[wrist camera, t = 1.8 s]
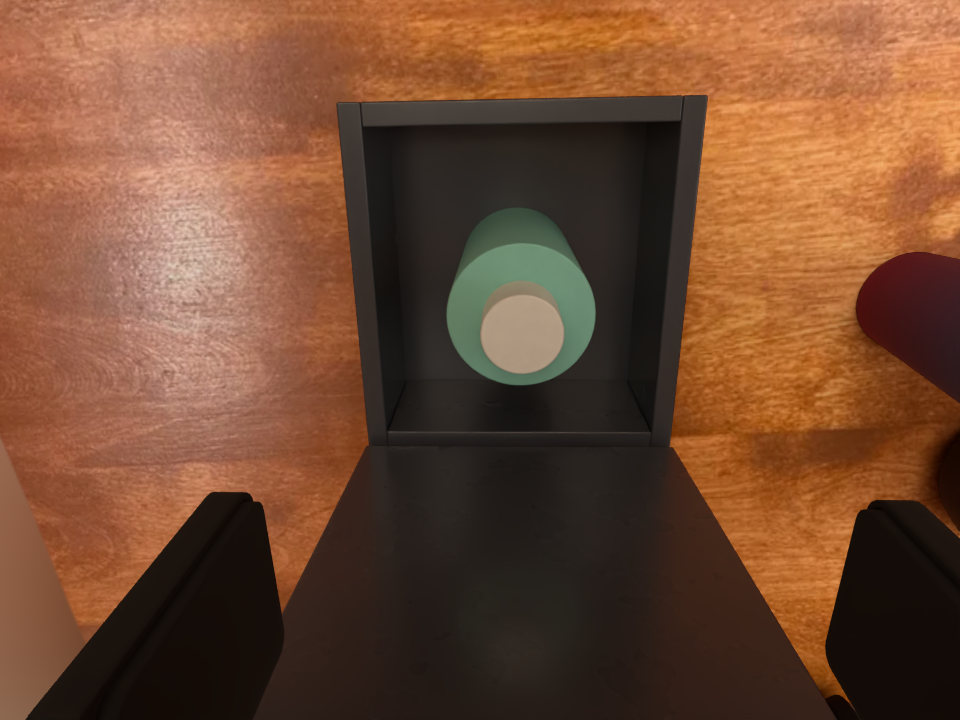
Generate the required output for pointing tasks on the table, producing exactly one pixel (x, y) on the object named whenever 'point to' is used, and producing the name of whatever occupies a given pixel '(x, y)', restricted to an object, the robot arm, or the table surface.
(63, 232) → the table surface
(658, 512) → the lid
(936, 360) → the cup
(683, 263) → the open gift box
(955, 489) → the cola bottle
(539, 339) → the bottle
